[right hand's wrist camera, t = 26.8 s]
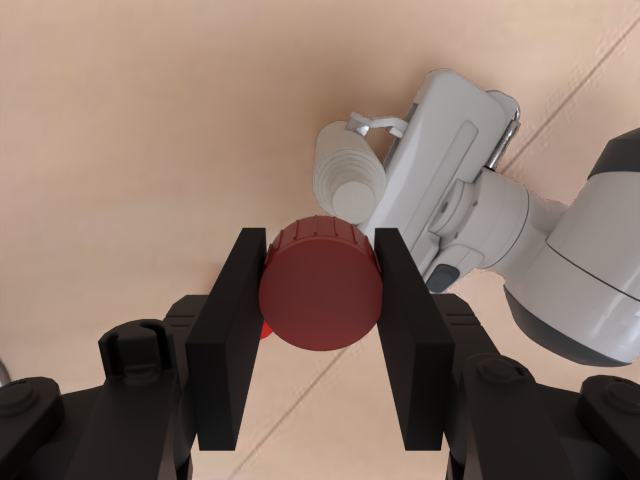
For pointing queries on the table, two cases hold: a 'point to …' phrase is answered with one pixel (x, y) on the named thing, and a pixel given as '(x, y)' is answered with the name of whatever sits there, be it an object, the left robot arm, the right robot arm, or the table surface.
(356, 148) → the bottle
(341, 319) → the cap
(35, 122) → the table surface
